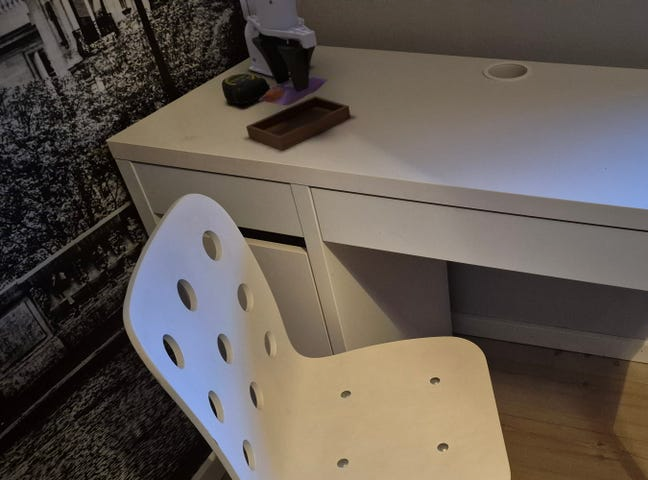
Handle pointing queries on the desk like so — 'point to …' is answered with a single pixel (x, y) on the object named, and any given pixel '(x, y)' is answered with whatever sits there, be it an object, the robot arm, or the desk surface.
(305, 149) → the desk surface
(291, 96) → the snack package
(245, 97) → the tape measure
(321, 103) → the tray
